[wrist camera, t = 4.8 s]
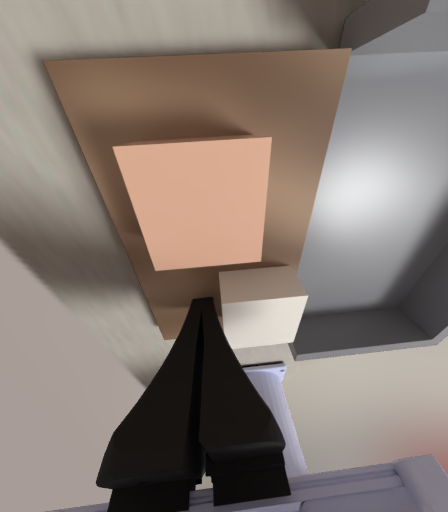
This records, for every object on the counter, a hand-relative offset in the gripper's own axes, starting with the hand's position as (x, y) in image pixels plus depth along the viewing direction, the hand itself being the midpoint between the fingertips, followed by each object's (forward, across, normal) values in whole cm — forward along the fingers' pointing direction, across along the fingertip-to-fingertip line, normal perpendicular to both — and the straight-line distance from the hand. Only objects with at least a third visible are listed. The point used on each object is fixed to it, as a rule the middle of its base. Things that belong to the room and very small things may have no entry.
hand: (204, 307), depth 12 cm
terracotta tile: (+1, -1, -7) cm, 7 cm away
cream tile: (+1, -3, 0) cm, 3 cm away
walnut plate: (+2, -1, -4) cm, 4 cm away
